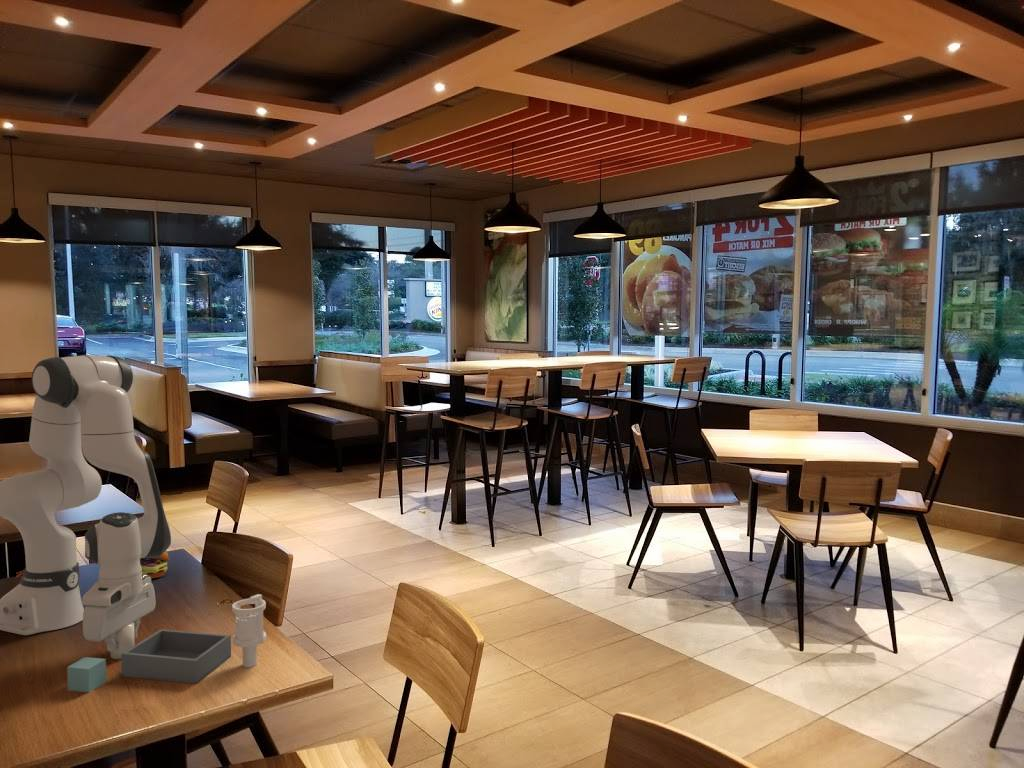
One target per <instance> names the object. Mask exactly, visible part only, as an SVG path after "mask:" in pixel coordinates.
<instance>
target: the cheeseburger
mask: <svg viewBox="0 0 1024 768" xmlns="http://www.w3.org/2000/svg"><path fill="white" fill-rule="evenodd" d="M170 560H171V558H169V553H168V550H166V551H165V552H164V553H163V554H162V555H161V556H159V557H155V558H140V565H141V567H142V575H143V574H147V575H149V576H150V577H151V580H152V579H155V578H162V577H163V576H165V575H166V572H167V570H168V561H170Z"/></svg>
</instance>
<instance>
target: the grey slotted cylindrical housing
mask: <svg viewBox="0 0 1024 768" xmlns="http://www.w3.org/2000/svg"><path fill="white" fill-rule="evenodd" d="M245 605H246V606H247V605H254V607H253V608H241V606H245ZM266 605H267V603H266V600H264V599H263V594H259V593H258V594H255V595H251V596H250V597H249V598H243V599H241V600H238V601H235V602H233V604H232V605H231V606H232V607H231V608H232V609H231V610H232V613H233V614H235V633H234V635H233V636H232V644H233V645H234V646H236V647H240V648H241V647H242V667H244V668H254V667H256V666H257V665H258V646H259V645H261V644H264V642H265V641H267V632H266V631H265V630H264V611H265V609H266V607H267V606H266Z"/></svg>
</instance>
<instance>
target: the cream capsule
mask: <svg viewBox="0 0 1024 768" xmlns="http://www.w3.org/2000/svg"><path fill="white" fill-rule="evenodd" d="M114 639H115V641H117V642H118V643H119V645H118V646H119V648H118V649H117V650H115V651H114V652H111V651H109V653H110V658H111V659H113V660H122V657H121V654H122V653H123V652H125V651H127V650H128V649H130V648H131V647H133V646H135V645H136V644H135V643H136V642H135V639H136V638H134V622H132V623H131V624H129V625H127V626H126V627H124V628H122V629H120V630H119V631H117V632H115V637H114Z"/></svg>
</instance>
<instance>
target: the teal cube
mask: <svg viewBox="0 0 1024 768" xmlns="http://www.w3.org/2000/svg"><path fill="white" fill-rule="evenodd" d="M106 660H107V659H106V658H101V657H100V658H99V657H88V656H84V657H82V658H80V659H79V660H77V661H76V662H73V663H72V664H69V666H67V669H66V671H67V691H73V692H81V693H91V692H92V691H94V690H95V689H97V688H99V687H100V686H101V685H103V684H105V683H106V682H107V661H106Z"/></svg>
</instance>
